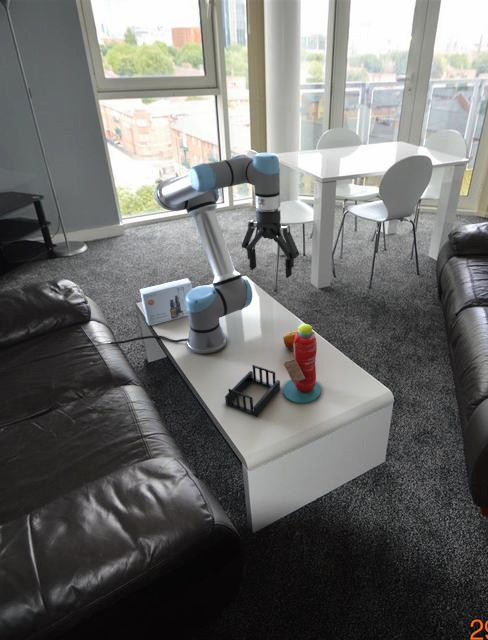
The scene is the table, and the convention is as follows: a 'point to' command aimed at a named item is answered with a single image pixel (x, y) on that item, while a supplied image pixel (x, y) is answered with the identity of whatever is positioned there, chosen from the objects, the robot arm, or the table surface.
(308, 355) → the water bottle
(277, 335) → the table surface
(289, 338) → the fruit
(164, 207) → the robot arm
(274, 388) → the rack
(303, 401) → the mat
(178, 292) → the skincare box
